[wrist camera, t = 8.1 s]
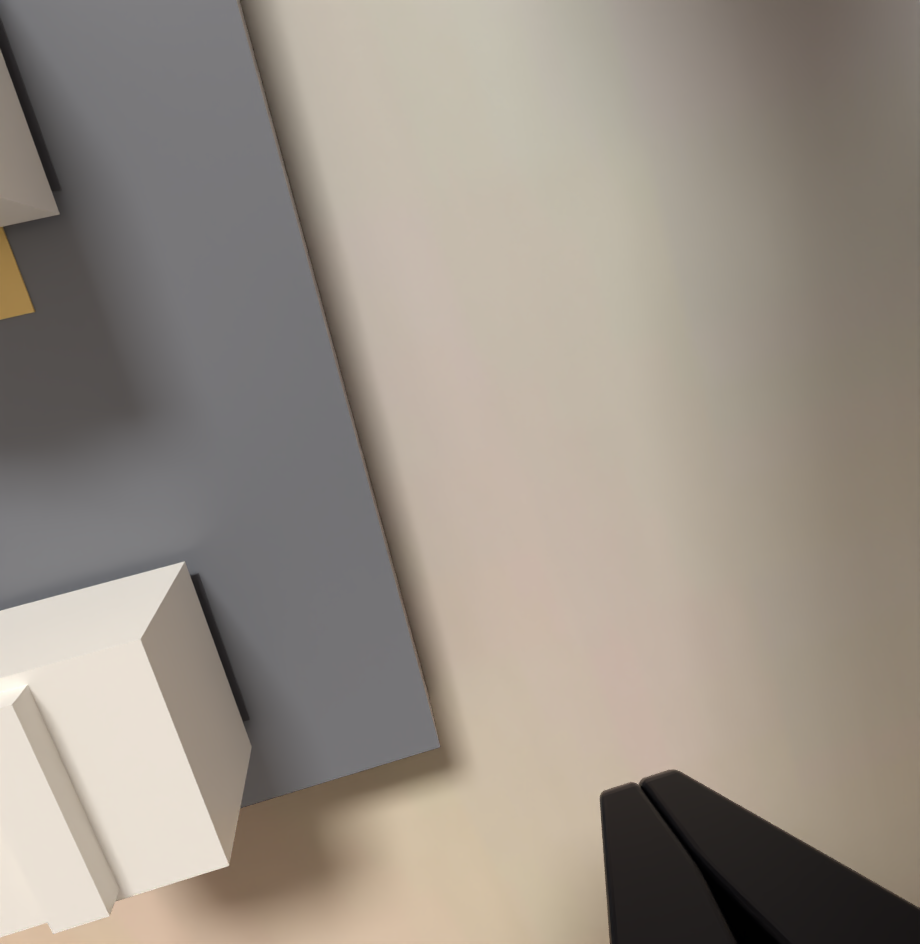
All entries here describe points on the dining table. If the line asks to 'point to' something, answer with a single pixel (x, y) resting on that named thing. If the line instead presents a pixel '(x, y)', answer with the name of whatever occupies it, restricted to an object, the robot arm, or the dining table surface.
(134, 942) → the dining table surface
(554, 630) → the dining table surface
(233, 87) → the switch panel
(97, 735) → the tab
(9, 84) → the middle tab
